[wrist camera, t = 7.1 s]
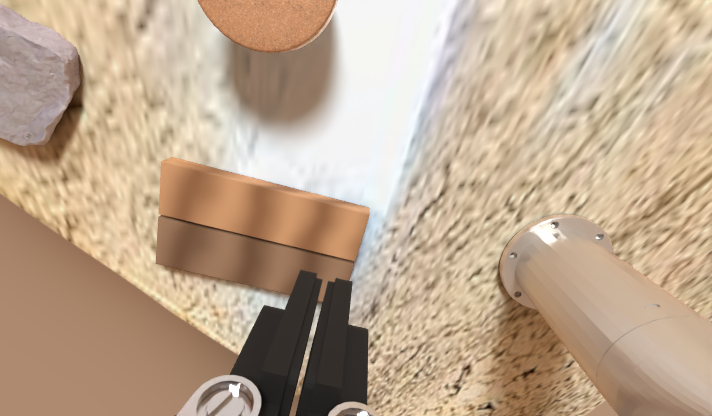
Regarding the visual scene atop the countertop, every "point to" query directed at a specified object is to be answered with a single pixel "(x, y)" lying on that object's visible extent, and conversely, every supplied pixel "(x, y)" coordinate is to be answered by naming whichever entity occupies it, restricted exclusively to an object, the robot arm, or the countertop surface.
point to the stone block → (33, 79)
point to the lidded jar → (270, 22)
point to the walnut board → (242, 257)
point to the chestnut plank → (261, 209)
